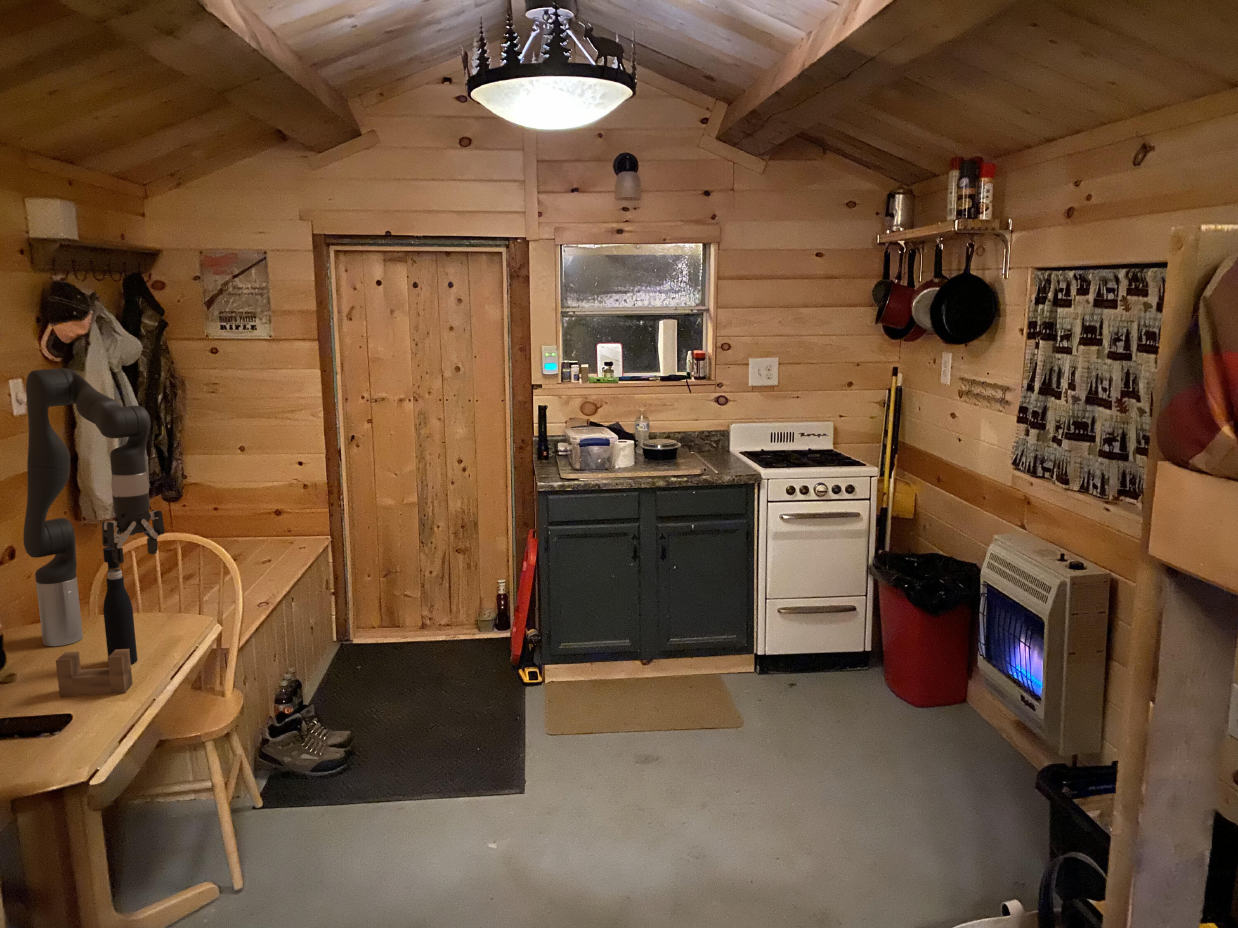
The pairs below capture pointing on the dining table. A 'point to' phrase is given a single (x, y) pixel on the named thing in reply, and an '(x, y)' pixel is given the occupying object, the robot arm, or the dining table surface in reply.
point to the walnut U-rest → (94, 675)
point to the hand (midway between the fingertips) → (136, 558)
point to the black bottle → (118, 611)
